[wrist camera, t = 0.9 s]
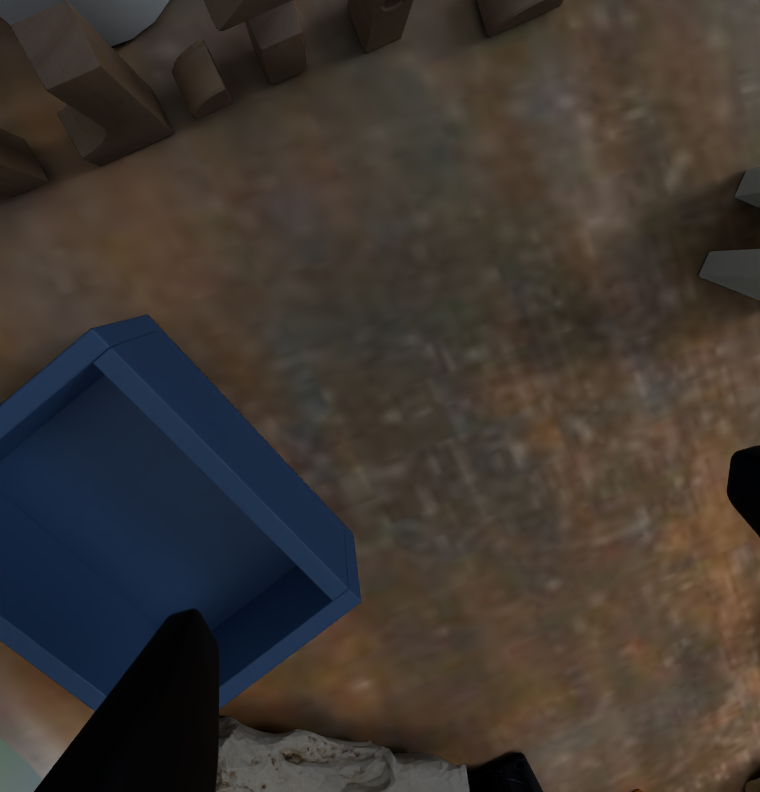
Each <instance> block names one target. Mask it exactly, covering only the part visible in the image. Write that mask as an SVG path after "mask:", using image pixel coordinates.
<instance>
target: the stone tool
mask: <svg viewBox="0 0 760 792" xmlns="http://www.w3.org/2000/svg"><path fill="white" fill-rule="evenodd" d="M745 792H760V777H759V778H757V779H754V780H751V781H749V782H747V784H746V786H745Z"/></svg>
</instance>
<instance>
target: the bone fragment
mask: <svg viewBox="0 0 760 792" xmlns="http://www.w3.org/2000/svg"><path fill="white" fill-rule="evenodd" d="M215 792H469V783H468V776H467V770H466V763H464V764H462V765H459V766H456V765H453V764H452V763H450V762H448V761H446V760H444V759H443V758H441V757H438V756H435V755H432V754H429V753H423V752H415V753H396V754H392V752H391V751H390V749H389V748H385V747H383V746H381V747H380V746H378V745H376V744H373V743H372V742H371V740H368V741H361V742H359V741H349V740H342V739H338V738H333V737H326V736H320V735H318V734H316V733H313V732H310V731H306V730H300V729H297V730H293V731H290V732H288V733H277V734H274V733H266V732H262V731H258V730H255V729H253V728H250V727H248V726H246V725H243V724H241V723H240V722H239V721H238V720H236V719H233V718H232V717H229V716H226V717H224V718H219V754H218V770H217V781H216V791H215Z"/></svg>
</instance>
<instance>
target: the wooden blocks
mask: <svg viewBox="0 0 760 792" xmlns="http://www.w3.org/2000/svg"><path fill="white" fill-rule="evenodd" d="M204 2H205V4H206V6H207V9H208V11H209V13H210V15H211V18H212V20H213V22H214V24H215V27H216V29H218V30H219V31H224V30H226V29H229V28H231V27H233V26H235V25H238V24H240V23H242V22H245V23H246V26H247V29H248V33H249V36H250V39H251V42H252V45H253V48H254V50H255V53H256V55H257V57H258V60H259V62H260V64H261V67H262V69H263V71H264V74H265V76H266V78H267V81H268V82H269V83H270V85H274V84H277V83H279V82H281V81H283V80H286V79H288V78H290V77H292V76H295V75H297V74H299V73H301V72H304V71H305V70H306V57H305V45H304V34H303V27H302V25H301V22H300V20H299V17H298V15H297V12H296V10H295V7H294V5H293V2H292V0H204ZM562 2H563V0H477V3H478V6H479V10H480V13H481V16H482V20H483V23H484V26H485V30H486V33H487V36H489V37H491V36H493V35H495V34H498V33H500V32H502V31H505V30H507V29H509V28H511V27H514V26H516V25H518V24H520V23H523V22H525V21H527V20H529V19H532V18H534V17H536V16H539V15H541V14H543V13H545V12H548V11H550V10H552V9H554V8H557V7H559V6H560V5H561V3H562ZM412 3H413V0H348V4H347V8H348V11H349V13H350V16H351V19H352V21H353V24H354V27H355V30H356V32H357V35H358V38H359V40H360V43H361V46H362V48H363V51H364V53H368V52H370V51H372V50H375V49H377V48H379V47H381V46H384V45H386V44H388V43H391V42H393V41H395V40H397V39H400V38H401V36H402V33H403V30H404V27H405V24H406V21H407V18H408V15H409V12H410V9H411V6H412ZM11 27H12V29H13V31H14V33H15V35H16V37H17V39H18V40H19V42H20V44H21V46H22V48H23V50H24V51H25V53H26V55H27V57H28V59H29V60H30V62H31V64H32V66H33V68H34V70H35V71H36V73H37V75H38V77H39V79H40V80H41V82H42V84H43V86H44V88H45V89H46V90H47V91H48V92H50V93H51V94H53V95H54V96H56V97H57V98H59V99H60V100H62V101H63V102H65V103H66V104H68V105H67V106H66V107H65V108H64V109H62V110H61V111H59V112H58V113H57V114H58V116H59V118H60V120H61V122H62V123H63V125H64V127H65V129H66V131H67V133H68V134H69V136H70V138H71V140H72V142H73V143H74V145H75V147H76V149H77V151H78V153H79V154H80V156H81V158H83V159H85V160H87V161H89V162H91V163H93V164H95V165H97V166H101V165H104V164H106V163H108V162H111V161H113V160H115V159H117V158H120V157H122V156H124V155H127V154H129V153H131V152H133V151H136V150H138V149H140V148H142V147H145V146H147V145H149V144H151V143H154V142H156V141H158V140H161V139H163V138H165V137H167V136H170V135H172V134H173V130H172V128H171V126H170V124H169V122H168V120H167V118H166V116H165V114H164V112H163V110H162V108H161V106H160V104H159V102H158V100H157V98H156V96H155V94H154V92H153V91H152V90H151V89H150V88H149V86H148V85H147V84H146V83H145V82H144V81H143V80H142V79H141V78H140V77H139V76H138V75H137V74H136V73H135V72H134V71H133V70H132V68H131V67H130V66H129V65H128V64H127V63H126V62H125V61H124V60H123V59H122V58H121V57H120V56H119V55H118V54H117V53H116V52H115V50H114V49H113V48H112V47H111V46H110V45H109V44H108V43H107V42H106V41H105V40H104V39H103V38H102V37H101V36H100V35H99V34H98V32H97V31H96V30H95V29H94V28H93V27H92V26H91V25H90V24H89V23H88V22H87V21H86V20H85V19H84V18H83V17H82V16H81V14H80V13H79V12H78V11H77V10H76V9H75V8H74V7H73V6H72V5H71V4H70V3H69V2H68V1H64V2H62V3H59V4H57V5H55V6H53V7H50V8H48V9H46V10H43V11H41V12H39V13H37V14H34V15H32V16H30V17H28V18H25V19H23V20H21V21H18V22H16V23H14V24H12V25H11ZM172 73H173V76H174V78H175V81H176V83H177V85H178V87H179V89H180V91H181V93H182V95H183V97H184V99H185V102H186V104H187V106H188V108H189V110H190V112H191V114H192V116H193V118H194V119H198V118H200V117H203V116H205V115H207V114H210V113H212V112H214V111H216V110H219V109H221V108H223V107H225V106H228V105H230V104H232V103H233V102H232V100H231V97H230V95H229V93H228V91H227V89H226V86H225V84H224V82H223V80H222V77H221V75H220V73H219V71H218V69H217V66H216V64H215V62H214V60H213V58H212V56H211V54H210V52H209V50H208V48H207V46H206V44H205V42H204V40H203V39H202V40H200V41H199V42H197V43H195V44H193V45H191V46H190V47H189V48H187V49H186V50H185V51H184V52H182V53H181V54H180V56H179V57H178V58H177V60H176V61H175V63H174V67H173V70H172ZM47 181H48V178H47V177H46V175H45V173H44V171H43V170H42V168H41V166H40V164H39V163H38V161H37V159H36V157H35V156H34V154H33V152H32V150H31V149H30V147H29V145H28V143H27V142H26V140H24V139H23V138H20V137H18V136H16V135H14V134H11V133H9V132H7V131H5V130H2V129H0V196H6V197H14V196H16V195H19V194H21V193H23V192H25V191H28V190H30V189H32V188H34V187H37V186H39V185H41V184H44V183H46V182H47Z"/></svg>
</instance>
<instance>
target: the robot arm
mask: <svg viewBox="0 0 760 792" xmlns="http://www.w3.org/2000/svg"><path fill="white" fill-rule="evenodd" d="M727 495H728V498H729V500H730V502H731V503H732V505H733V506H734V507H735V509H736V510H737V511H738V512H739V513H740V515H741V516H742V517H743V518H744V519H745V520H746V522H747V523H748V524H749V525H750V526H751V527H752V529H753V530H754V531H755V532H756V533H757V534H758V536H759V537H760V445H759V446H753V447H750V448H746V449H743V450H739V451H737V452H735V453H734V454H733V456H732V457H731V462H730V469H729V477H728V484H727ZM219 668H220V654H219V647H218V643H217V640H216V638H215V637H214V635H213V633H212V631H211V630H210V628H209V626H208V624H207V623H206V621H205V619H204V617H203V616H202V614H201V613H200V611H199V610H197V609H195V608H191V609H188V610H184V611H181V612H177V613H174V614H172V615H170V616H169V617H168V618H167V619H166V620H165V621H164V622H163V623H162V625H161V626H160V627H159V629H158V630H157V631H156V633H155V634H154V635H153V637H152V638H151V639H150V640H149V642H148V643H147V644H146V646H145V647H144V648H143V650H142V651H141V652H140V654H139V655H138V656H137V657H136V659H135V660H134V661H133V663H132V664H131V665H130V667H129V668H128V669H127V671H126V672H125V673H124V675H123V676H122V677H121V678H120V680H119V681H118V682H117V684H116V685H115V686H114V688H113V689H112V690H111V692H110V693H109V694H108V695H107V697H106V698H105V699H104V701H103V702H102V703H101V705H100V706H99V707H98V709H97V710H96V711H95V712H94V714H93V715H92V716H91V718H90V719H89V720H88V722H87V723H86V724H85V726H84V727H83V728H82V729H81V731H80V732H79V733H78V735H77V736H76V737H75V739H74V740H73V741H72V743H71V744H70V745H69V746H68V748H67V749H66V750H65V752H64V753H63V754H62V756H61V757H60V758H59V760H58V761H57V762H56V763H55V765H54V766H53V767H52V769H51V770H50V771H49V773H48V774H47V775H46V777H45V778H44V779H43V780H42V782H41V783H40V784H39V786H38V787H37V788H36V790H35V791H34V792H215V791H216V781H217V770H218V754H219ZM467 776H468V783H469V792H543V791H542V789H541V787H540V785H539V783H538V781H537V779H536V777H535V775H534V773H533V771H532V769H531V767H530V765H529V763H528V761H527V759H526V757H525V755H524V754H522V753H514V754H512V755H510V756H508V757H506V758H503V759H501V760H499V761H497V762H495V763H493V764H491V765H489V766H486V767H484V768H482V769H480V770H478V771H476V772H474V773H472V774H470V775H467Z"/></svg>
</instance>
